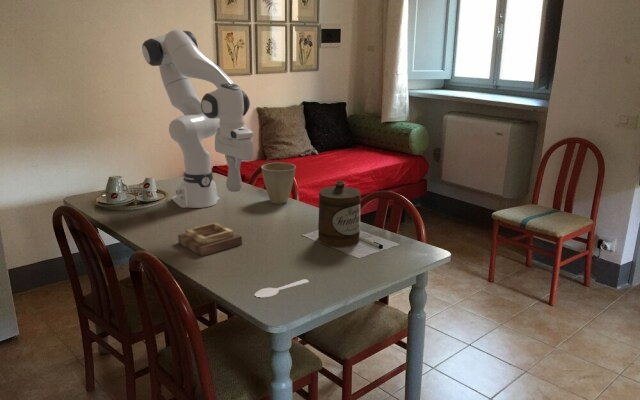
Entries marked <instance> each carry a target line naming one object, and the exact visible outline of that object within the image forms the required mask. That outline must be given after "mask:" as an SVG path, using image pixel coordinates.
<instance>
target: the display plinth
mask: <svg viewBox="0 0 640 400" xmlns="http://www.w3.org/2000/svg"><path fill="white" fill-rule="evenodd" d="M177 237H178V238H177V239H178V244H181V246H184V247H186V248H187V249H189V250H190V251H192V252H194V253H195V254H197V255H199V256H200V257H203V256H206V255H210V254H213V253H217V252H221V251H224V250H227V249H230V248H234V247H238V246H241V245H243V236H242V235H240V234H237V233H236V232H235V231H234V230H233V229H231V228H228V227H226V226H225V225H222V224H220V223H219V222H216V221H214V222H210V223H207V224H204V225H203V224H202V225H199V226H195V227H189V228H187V229H185V232H184V233H179V234H178V235H177Z"/></svg>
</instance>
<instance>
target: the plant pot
mask: <svg viewBox="0 0 640 400" xmlns="http://www.w3.org/2000/svg"><path fill="white" fill-rule="evenodd" d="M261 173H262V178H263V183H264V185H265V189H266V190H265V191H266V192H267V196H268V198H269V201H270V203H272V204H278V205H279V204H285V203H287V202H288V201H289V197H290V195H291V191H292V189H293V184H294V180H295V175H296V174H295V173H296V165H295V164H294V163H293V164H292V163H288V162H270V163H266V164H263V165H261Z"/></svg>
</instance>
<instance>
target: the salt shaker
mask: <svg viewBox="0 0 640 400" xmlns="http://www.w3.org/2000/svg"><path fill="white" fill-rule="evenodd" d="M228 162H229V163H230V164H229V167H228V170H227V177H226V183H225V186H226V188H227V191H228V192H230V193H231V192H233V193H236V192H240V191H241V189H242V186H243V181H242V177H241V171H240V169H238V170H236V169H234V164H235V163H236V160H235V157H231V156H229V157H228Z"/></svg>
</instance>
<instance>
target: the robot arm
mask: <svg viewBox="0 0 640 400" xmlns="http://www.w3.org/2000/svg"><path fill="white" fill-rule="evenodd" d="M141 48H142V49H141V50H142V55H143V58H144V60H145V61H146V63H147V64H149V66H152V67H158V68H159V73H160V78H161V80H162V83H163V86H164V88H165V90H166V94H167V96H168V98H169V102H170V103H171V105H172V107H174V108H175V109H177V110H179V111H180V112H181V113H182V114H183V115H180V116H178V117H176V118H174V119H172V121H170V123H169V125H168V133H169V135H170V137H171V139H172V140H173V141H174V142H176V143H177V144H178V146H179V147H180V150H181V152H182V155H183V161H184V172H183V174H182V175H183V181H181V182H180V184H179V185H178V186H177V187H176V189H175V194H176V195H174V196H172V197H171V200H172V201H173V202H174V203H175V204H176V205H178V206H179V208H182V209H183V208H191V209H192V208H193V209H195V208H196V209H197V208H198V209H200V208H201V209H202V208H208V207H213V206H214V205H216V204H217V203H218V201H219V200H221V199H220V196H218V193H217V185H216V182H215V181H214V180H213V179H214V174H213V170H212V156H211V153H210V152H209V151H208V150H207V149H206V148H205V147H204V146H203V142H202V140H205V139H208V138H211V137H213V136H214V150H215V152H216V153H219V154H222V155H224V158H225V161H226V164H227V167H228V168H229V164H230V163H229V162H228V157H229V156H231V157H235V160H236V163H235V164H234V169H236V170H238V169H239V170H241V163H242V161H250V160H252V159H253V158H254V144H253V143H254V141H253V136H254V132H253V130H251V129H250V128H249V127H247V125H245V118H244V117H245V116H246V114H247V113H248V112H249V109H250V106H251V105H250V104H251V103H250V98H249V96H248V95H247V93H245V91H244V90H243V89H242V87H241V86H239V85H238V84H235V82H234V81H233V80H232V79H231V78H230V77H229V76H228V75H227V73H225V71H224V70H223V69H222V68H221V67H220V66H219V65H218V63H215V62H214V61H212V60H211V59H210V58H208V57H207V56H206V55H204V53H203V52H202V51H201V50H200V49H199V47H198V41H197V38H196V37H195V34H193V33H192V32H191V31H189V30H180V29H172V30H170V31H169V32H168V33H165V34H163V35H159V36H156V37H153V38H152V37H151V38H149V39H147V40H145V41H143V43H142V46H141ZM191 79H198V80H202V81H206V82H209V83H211V84H213V85H214V86H215V87H216V88H217V89H215V90H213V91H210V92H208V93H205V94H204V95H203V97H202V99H200V98H199V96H198V94H197V92H196V89H195V86H194V84H193V83H192V80H191Z"/></svg>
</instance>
